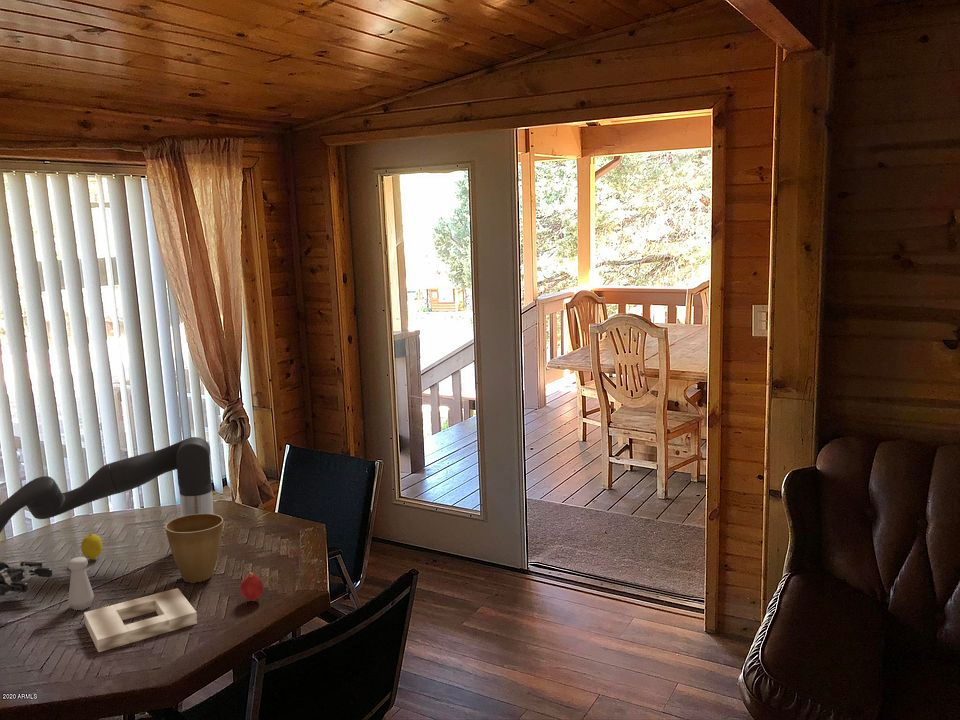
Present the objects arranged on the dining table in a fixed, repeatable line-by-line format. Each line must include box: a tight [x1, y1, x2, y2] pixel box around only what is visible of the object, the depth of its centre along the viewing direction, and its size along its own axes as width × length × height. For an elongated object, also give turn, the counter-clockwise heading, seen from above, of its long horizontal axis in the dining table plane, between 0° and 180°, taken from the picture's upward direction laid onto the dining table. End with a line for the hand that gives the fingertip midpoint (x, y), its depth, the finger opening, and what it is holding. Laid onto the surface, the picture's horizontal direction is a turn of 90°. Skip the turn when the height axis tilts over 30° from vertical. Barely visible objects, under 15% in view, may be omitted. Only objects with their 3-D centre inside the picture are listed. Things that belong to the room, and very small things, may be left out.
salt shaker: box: [67, 556, 95, 612], centre depth 194 cm, size 6×6×13 cm
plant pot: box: [164, 513, 224, 584], centre depth 211 cm, size 15×15×16 cm
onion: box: [239, 572, 265, 602], centre depth 197 cm, size 6×6×8 cm
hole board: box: [83, 587, 198, 653], centre depth 186 cm, size 22×16×3 cm
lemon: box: [80, 533, 104, 561], centre depth 223 cm, size 6×6×8 cm
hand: (39, 580), depth 195 cm, fingers open, 8 cm apart
